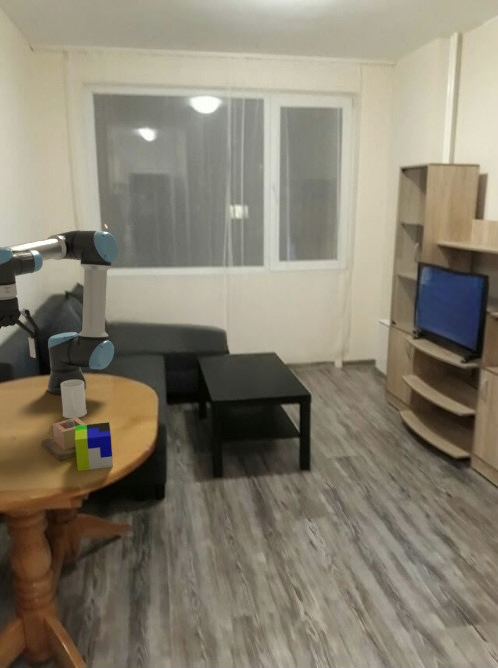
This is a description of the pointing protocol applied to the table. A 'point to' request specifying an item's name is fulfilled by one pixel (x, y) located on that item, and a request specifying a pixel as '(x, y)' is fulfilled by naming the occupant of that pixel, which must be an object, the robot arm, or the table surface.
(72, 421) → the square plate with peg
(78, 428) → the puzzle toy
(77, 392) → the mug
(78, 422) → the collar
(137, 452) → the table surface
